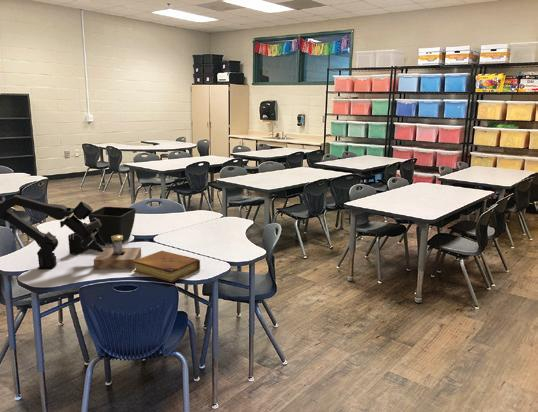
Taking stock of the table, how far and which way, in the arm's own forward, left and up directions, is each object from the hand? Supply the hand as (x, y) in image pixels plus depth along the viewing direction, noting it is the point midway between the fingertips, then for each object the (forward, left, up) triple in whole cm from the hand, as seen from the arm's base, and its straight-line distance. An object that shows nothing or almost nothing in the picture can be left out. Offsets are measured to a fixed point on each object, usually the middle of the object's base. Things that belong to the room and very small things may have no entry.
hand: (104, 248), depth 216 cm
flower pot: (-4, +38, -8) cm, 39 cm away
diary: (+30, -11, -8) cm, 33 cm away
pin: (+6, +1, -7) cm, 10 cm away
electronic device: (-17, +19, -8) cm, 26 cm away
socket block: (+6, +1, -7) cm, 10 cm away
